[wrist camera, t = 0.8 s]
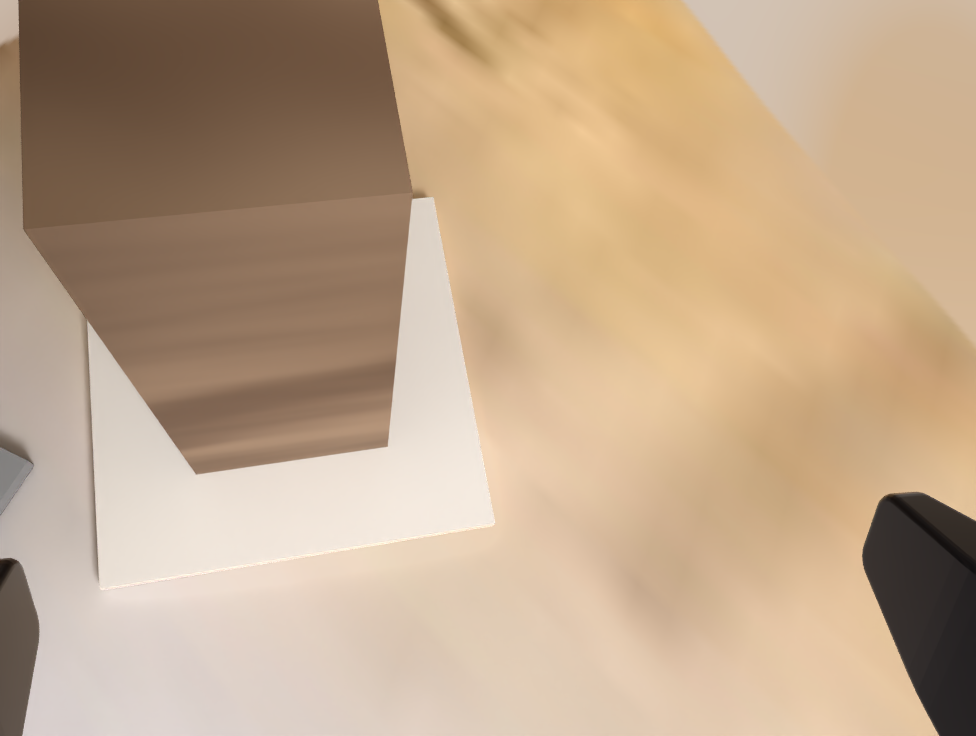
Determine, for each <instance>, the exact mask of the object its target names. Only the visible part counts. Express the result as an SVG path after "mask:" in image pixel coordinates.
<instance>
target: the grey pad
mask: <svg viewBox="0 0 976 736" xmlns="http://www.w3.org/2000/svg"><path fill="white" fill-rule="evenodd" d="M33 466H34V465H33V464H32V463H30V462H29V461H28V460H26V459H24V458H21V457H19V456H17V455H15V454H13V453H11V452H9V451H7V450H5V449H3V448H1V447H0V515H1V514H2V512H3V511H4V509H5V508H6V506H7V505H8V503H9V502H10V500H11V499H12V497H13V496H14V495H15V493H16V492H17V490H18V489H19V487H20V486H21V484H22V483H23V481H24V480H25V478H26V477H27V475H28V474H29V472H30V471H31V469H32V468H33Z"/></svg>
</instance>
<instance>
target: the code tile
mask: <svg viewBox="0 0 976 736" xmlns="http://www.w3.org/2000/svg"><path fill="white" fill-rule="evenodd" d="M87 328H88V350H89V372H90V394H91V416H92V438H93V459H94V481H95V503H96V525H97V547H98V568H99V588H100V589H102V590H109V589H115V588H121V587H127V586H133V585H139V584H145V583H151V582H157V581H163V580H170V579H176V578H182V577H188V576H194V575H200V574H206V573H212V572H218V571H224V570H230V569H236V568H242V567H248V566H254V565H260V564H266V563H272V562H278V561H284V560H290V559H296V558H303V557H309V556H315V555H321V554H327V553H333V552H339V551H345V550H351V549H357V548H363V547H369V546H375V545H381V544H387V543H393V542H399V541H405V540H411V539H417V538H423V537H429V536H436V535H442V534H448V533H454V532H460V531H466V530H472V529H478V528H484V527H490V526H493V525H494V524H495V520H494V515H493V509H492V504H491V499H490V494H489V488H488V483H487V478H486V472H485V467H484V462H483V457H482V451H481V446H480V441H479V436H478V430H477V425H476V420H475V414H474V409H473V404H472V399H471V393H470V388H469V383H468V377H467V372H466V367H465V362H464V356H463V351H462V346H461V341H460V335H459V330H458V325H457V319H456V314H455V309H454V304H453V298H452V293H451V288H450V283H449V277H448V272H447V267H446V261H445V256H444V251H443V246H442V240H441V235H440V230H439V225H438V219H437V214H436V209H435V203H434V198H433V197H428V198H418V199H412V204H411V214H410V225H409V235H408V245H407V255H406V265H405V276H404V286H403V296H402V306H401V316H400V327H399V337H398V347H397V357H396V367H395V378H394V388H393V398H392V408H391V418H390V429H389V439H388V447H382V448H376V449H369V450H362V451H355V452H348V453H341V454H334V455H328V456H321V457H314V458H307V459H300V460H293V461H286V462H280V463H273V464H266V465H259V466H252V467H245V468H238V469H232V470H225V471H218V472H211V473H204V474H197V475H196V474H195V472H194V471H193V469H192V468H191V467H190V465H189V464H188V462H187V461H186V460H185V458H184V457H183V455H182V454H181V452H180V451H179V450H178V448H177V447H176V445H175V444H174V442H173V441H172V440H171V438H170V437H169V435H168V434H167V433H166V431H165V430H164V428H163V427H162V425H161V424H160V423H159V421H158V420H157V418H156V417H155V416H154V414H153V413H152V411H151V410H150V408H149V407H148V406H147V404H146V403H145V401H144V400H143V398H142V397H141V396H140V394H139V393H138V391H137V390H136V389H135V387H134V386H133V384H132V383H131V381H130V380H129V379H128V377H127V376H126V374H125V373H124V371H123V370H122V369H121V367H120V366H119V364H118V363H117V362H116V360H115V359H114V357H113V356H112V354H111V353H110V352H109V350H108V349H107V347H106V346H105V344H104V343H103V342H102V340H101V339H100V337H99V336H98V335H97V333H96V332H95V330H94V329H93V327H92V326H91V325H90V323H89V322H88V320H87Z"/></svg>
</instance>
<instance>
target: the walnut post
mask: <svg viewBox="0 0 976 736" xmlns="http://www.w3.org/2000/svg"><path fill="white" fill-rule="evenodd" d="M18 1H19V47H20V93H21V139H22V184H23V229H24V231H25V232H26V234H27V235H28V236H29V238H30V239H31V241H32V242H33V244H34V245H35V246H36V248H37V249H38V251H39V252H40V254H41V255H42V256H43V258H44V259H45V261H46V262H47V263H48V265H49V266H50V268H51V269H52V271H53V272H54V273H55V275H56V276H57V278H58V279H59V281H60V282H61V283H62V285H63V286H64V288H65V289H66V290H67V292H68V293H69V295H70V296H71V298H72V299H73V300H74V302H75V303H76V305H77V306H78V308H79V309H80V310H81V312H82V313H83V315H84V316H85V317H86V319H87V320H88V322H89V323H90V325H91V326H92V327H93V329H94V330H95V332H96V333H97V335H98V336H99V337H100V339H101V340H102V342H103V343H104V344H105V346H106V347H107V349H108V350H109V352H110V353H111V354H112V356H113V357H114V359H115V360H116V362H117V363H118V364H119V366H120V367H121V369H122V370H123V371H124V373H125V374H126V376H127V377H128V379H129V380H130V381H131V383H132V384H133V386H134V387H135V389H136V390H137V391H138V393H139V394H140V396H141V397H142V398H143V400H144V401H145V403H146V404H147V406H148V407H149V408H150V410H151V411H152V413H153V414H154V416H155V417H156V418H157V420H158V421H159V423H160V424H161V425H162V427H163V428H164V430H165V431H166V433H167V434H168V435H169V437H170V438H171V440H172V441H173V442H174V444H175V445H176V447H177V448H178V450H179V451H180V452H181V454H182V455H183V457H184V458H185V460H186V461H187V462H188V464H189V465H190V467H191V468H192V469H193V471H194V472H195V474H196V475H197V474H204V473H211V472H218V471H225V470H232V469H238V468H245V467H252V466H259V465H266V464H273V463H280V462H286V461H293V460H300V459H307V458H314V457H321V456H328V455H334V454H341V453H348V452H355V451H362V450H369V449H376V448H382V447H388V439H389V429H390V418H391V408H392V398H393V388H394V378H395V367H396V357H397V347H398V337H399V327H400V316H401V306H402V296H403V286H404V276H405V265H406V255H407V245H408V235H409V225H410V214H411V204H412V194H413V192H412V186H411V181H410V175H409V170H408V164H407V159H406V153H405V148H404V142H403V137H402V131H401V126H400V120H399V115H398V109H397V104H396V98H395V92H394V87H393V81H392V76H391V70H390V65H389V59H388V54H387V48H386V43H385V37H384V32H383V26H382V21H381V15H380V10H379V4H378V0H18Z"/></svg>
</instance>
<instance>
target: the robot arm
mask: <svg viewBox="0 0 976 736" xmlns="http://www.w3.org/2000/svg"><path fill="white" fill-rule="evenodd" d="M862 558H863V566H864V570H865V573H866V575H867V577H868V580H869V582H870V585H871V587H872V589H873V592H874V594H875V597H876V599H877V601H878V604H879V606H880V609H881V611H882V613H883V616H884V618H885V621H886V623H887V625H888V628H889V630H890V632H891V635H892V637H893V640H894V642H895V644H896V647H897V649H898V652H899V654H900V656H901V659H902V661H903V664H904V666H905V668H906V671H907V673H908V675H909V677H910V680H911V682H912V684H913V686H914V688H915V691H916V693H917V695H918V697H919V699H920V701H921V703H922V704H923V706H924V708H925V710H926V712H927V714H928V716H929V718H930V720H931V722H932V723H933V725H934V727H935V729H936V731H937V733H938V734H939V736H976V521H975V520H973V519H971V518H969V517H967V516H966V515H964V514H962V513H960V512H958V511H956V510H954V509H953V508H951V507H949V506H947V505H945V504H943V503H941V502H939V501H938V500H936V499H934V498H932V497H930V496H928V495H926V494H924V493H920V492H907V493H893V494H888V495H886V496H884V497H883V498H882V499H881V500H880V501H879V503H878V506H877V509H876V512H875V515H874V517H873V520H872V523H871V526H870V529H869V532H868V535H867V538H866V541H865V544H864V547H863V554H862ZM38 643H39V620H38V616H37V612H36V609H35V606H34V602H33V599H32V596H31V593H30V589H29V586H28V583H27V580H26V576H25V573H24V570H23V568H22V566H21V564H20V563H19V562H18V561H17V560H15V559H12V558H3V559H0V736H22V734H23V728H24V722H25V717H26V711H27V705H28V700H29V694H30V689H31V683H32V677H33V672H34V666H35V660H36V655H37V649H38Z"/></svg>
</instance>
